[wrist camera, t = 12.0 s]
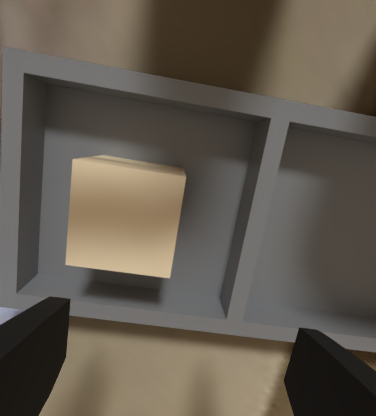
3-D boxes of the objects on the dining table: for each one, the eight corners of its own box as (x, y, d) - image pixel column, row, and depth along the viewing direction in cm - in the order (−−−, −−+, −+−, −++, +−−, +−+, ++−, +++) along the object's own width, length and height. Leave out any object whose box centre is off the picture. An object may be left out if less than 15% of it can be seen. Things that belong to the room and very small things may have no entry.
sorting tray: (401, 330, 21) (437, 359, 18) (25, 281, 19) (-3, 306, 16) (471, 145, 18) (528, 145, 15) (34, 64, 16) (2, 46, 13)
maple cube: (171, 242, 18) (169, 278, 13) (95, 232, 18) (65, 265, 13) (183, 167, 17) (186, 176, 12) (102, 155, 17) (72, 159, 12)
